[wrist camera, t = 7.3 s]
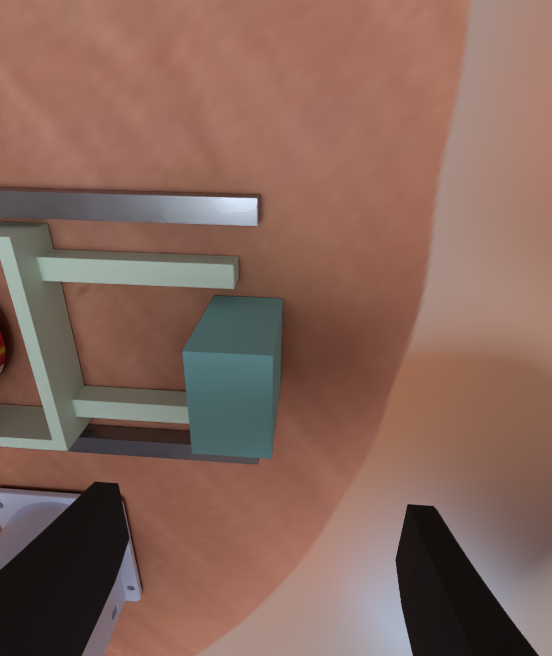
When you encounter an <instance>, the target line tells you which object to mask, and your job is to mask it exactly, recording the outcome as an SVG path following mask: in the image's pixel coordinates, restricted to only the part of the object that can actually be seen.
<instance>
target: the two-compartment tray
mask: <svg viewBox="0 0 552 656" xmlns="http://www.w3.org/2000/svg"><path fill="white" fill-rule="evenodd" d="M0 260H1V263H2V267H3V270H4V274H5V277H6V281H7V284H8V288H9V291H10V294H11V298H12V301H13V305H14V308H15V312H16V315H17V319H18V322H19V326H20V329H21V333H22V336H23V340H24V343H25V346H26V350H27V353H28V357H29V360H30V364H31V367H32V371H33V374H34V378H35V381H36V385H37V388H38V392H39V395H40V398H41V402H42V405H43V407H38V406H22V405H6V404H0V447H14V448H29V449H43V450H58V451H68V450H69V449H70V447H71V446H72V445H73V443H74V442H75V441H76V439H77V438H78V437H79V435H80V434H81V433H82V432H83V430H84V429H85V428H86V426H87V425H88V424H89V422H90V421H91V420H92V418H106V419H122V420H137V421H153V422H169V423H185V424H189V427H190V437H191V448H192V453H194V454H209V455H223V456H238V457H253V458H267V459H272V451H273V443H274V434H275V426H276V418H277V409H278V401H279V392H280V384H281V346H282V307H283V298H262V297H239V296H217V295H214V297H213V299H212V300H211V302H210V304H209V306H208V307H207V309H206V311H205V312H204V314H203V316H202V318H201V319H200V321H199V323H198V325H197V326H196V328H195V330H194V331H193V333H192V335H191V337H190V338H189V340H188V342H187V344H186V345H185V347H184V349H183V351H182V355H183V365H184V375H185V386H186V392H184V391H167V390H150V389H133V388H116V387H99V386H84V382H83V377H82V373H81V369H80V364H79V360H78V355H77V351H76V347H75V342H74V338H73V333H72V329H71V325H70V320H69V316H68V311H67V307H66V303H65V298H64V294H63V289H62V285H61V282H84V283H107V284H131V285H154V286H177V287H201V288H224V289H234V288H235V286H236V284H237V282H238V280H239V266H238V256H218V255H192V254H165V253H139V252H112V251H86V250H60V249H53V245H52V241H51V237H50V232H49V228H48V223H22V222H0Z"/></svg>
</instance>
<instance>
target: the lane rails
mask: <svg viewBox="0 0 552 656" xmlns="http://www.w3.org/2000/svg"><path fill="white" fill-rule="evenodd" d="M0 217H5V218H35V219H66V220H96V221H126V222H156V223H186V224H216V225H247V226H258V224H259V222H260V194H227V193H192V192H157V191H122V190H87V189H51V188H16V187H0ZM12 448H14V447H12ZM27 449H29V448H27ZM41 450H43V449H41ZM55 451H58V450H55ZM68 451H70V452H84V453H99V454H113V455H128V456H142V457H157V458H171V459H186V460H200V461H214V462H229V463H243V464H258V463H259V458H253V457H238V456H223V455H209V454H194V453H192V448H191V437H190V431H179V430H163V429H148V428H132V427H117V426H101V425H87V426H86V428H85V429H84V430H83V432H82V433H81V434H80V435H79V437H78V438H77V439H76V441H75V442H74V443H73V445H72V446H71V447H70V449H69V450H68Z"/></svg>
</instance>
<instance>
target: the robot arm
mask: <svg viewBox="0 0 552 656" xmlns="http://www.w3.org/2000/svg"><path fill="white" fill-rule="evenodd" d="M0 525H1V528H2V531H1V532H0V656H104V654H105V652H106V649H107V646H108V644H109V641H110V639H111V636H112V634H113V631H114V629H115V626H116V623H117V621H118V618H119V616H120V613H121V611H122V608H123V606H124V603H125V601H139V600H140V599H141V596H142V589H141V585H140V580H139V575H138V570H137V565H136V561H135V556H134V551H133V546H132V541H131V537H130V532H129V527H128V522H127V517H126V513H125V508H124V503H123V501H122V499H121V494H120V490H119V485H118V483H105V482H94V483H93V484H92V485H91V486H90V487H89V488H87V489H86V490H85V491H84V492H83V493H82V494H73V493H59V492H46V491H33V490H20V489H7V488H0ZM396 567H397V575H398V583H399V590H400V598H401V604H402V610H403V614H404V618H405V623H406V627H407V632H408V636H409V641H410V645H411V649H412V653H413V656H539V655H538V654H537V653H536V652H535V650H534V649H533V648H532V646H531V645H530V644H529V643H528V641H527V640H526V638H525V637H524V636H523V635H522V634H521V632H520V631H519V629H518V628H517V627H516V625H515V624H514V623H513V621H512V620H511V619H510V617H509V616H508V615H507V613H506V612H505V611H504V609H503V608H502V607H501V605H500V604H499V602H498V601H497V599H496V598H495V597H494V595H493V594H492V592H491V591H490V590H489V588H488V587H487V585H486V584H485V583H484V581H483V580H482V578H481V577H480V575H479V574H478V572H477V571H476V569H475V568H474V567H473V565H472V564H471V562H470V561H469V559H468V558H467V556H466V555H465V553H464V552H463V550H462V549H461V547H460V545H459V544H458V542H457V541H456V539H455V538H454V536H453V535H452V533H451V531H450V530H449V528H448V527H447V525H446V523H445V522H444V520H443V519H442V517H441V515H440V514H439V512H438V511H437V509H436V508H435V507H434V506H424V505H411V504H410V505H409V504H408V505H407V510H406V514H405V519H404V524H403V528H402V533H401V537H400V542H399V546H398V551H397V556H396Z"/></svg>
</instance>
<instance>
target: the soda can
mask: <svg viewBox="0 0 552 656" xmlns="http://www.w3.org/2000/svg"><path fill="white" fill-rule="evenodd" d="M4 362H5V345H4V340H3V337H2V334H1V331H0V374H1V371H2V369H3V367H4Z"/></svg>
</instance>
